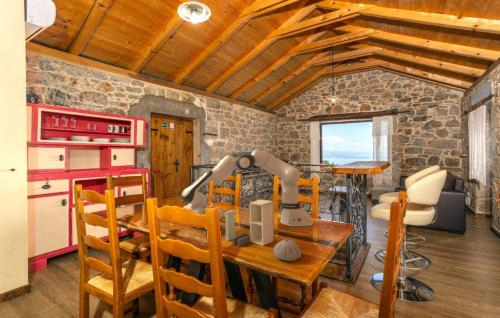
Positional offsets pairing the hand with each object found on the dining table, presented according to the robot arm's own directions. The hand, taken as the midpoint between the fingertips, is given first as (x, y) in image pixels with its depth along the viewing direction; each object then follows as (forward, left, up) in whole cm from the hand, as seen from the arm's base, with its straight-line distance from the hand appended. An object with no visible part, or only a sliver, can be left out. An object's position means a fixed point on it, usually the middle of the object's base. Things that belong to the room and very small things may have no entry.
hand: (215, 218), depth 152 cm
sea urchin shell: (-44, +25, -10) cm, 51 cm away
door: (-11, +6, -10) cm, 16 cm away
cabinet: (-25, +9, -10) cm, 28 cm away
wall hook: (+11, -37, -10) cm, 40 cm away
